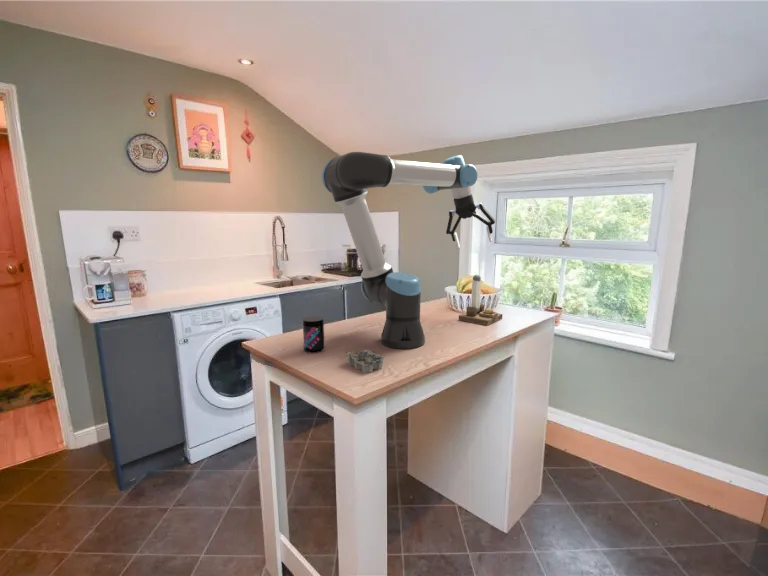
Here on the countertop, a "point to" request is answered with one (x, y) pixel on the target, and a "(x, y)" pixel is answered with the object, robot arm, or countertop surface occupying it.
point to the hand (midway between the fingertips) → (474, 244)
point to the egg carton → (365, 360)
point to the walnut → (488, 311)
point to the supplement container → (313, 333)
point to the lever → (476, 292)
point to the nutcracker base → (479, 316)
